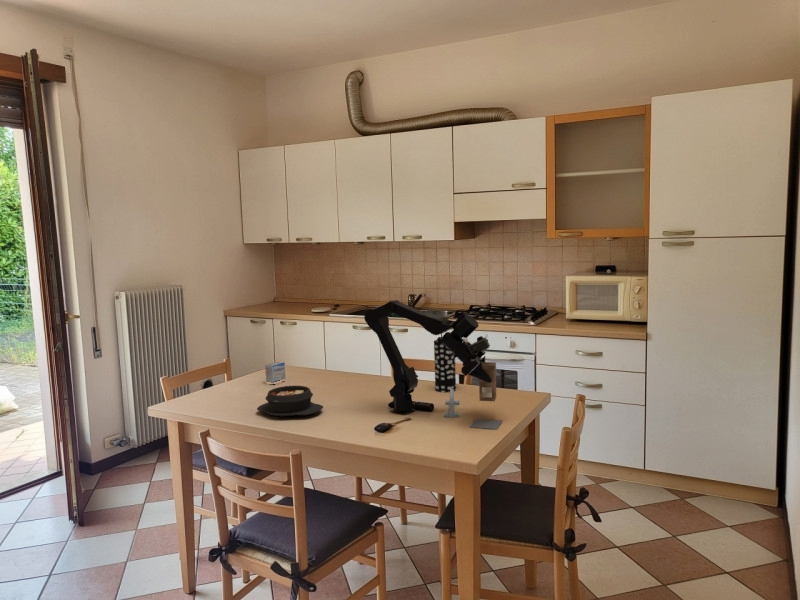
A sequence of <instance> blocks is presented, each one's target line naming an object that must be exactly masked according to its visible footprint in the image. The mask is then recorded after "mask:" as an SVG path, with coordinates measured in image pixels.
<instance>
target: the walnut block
mask: <svg viewBox="0 0 800 600" xmlns="http://www.w3.org/2000/svg"><path fill="white" fill-rule="evenodd" d="M482 368H483V369H484V370H485V372H486V373H487V374H488V376H489V377H490V378H491V380H492V381H491V382H490V383H489V382H486V381H484V380H481V379H479V378H478V382H479V383H478V387H479V388H478V389H479V391H478V392H479V393H478V394H479V397H478V398H479V401H481V402H495V401H496V399H497V362H491V361H490V362H488V361H485V362H482Z"/></svg>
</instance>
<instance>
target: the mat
mask: <svg viewBox="0 0 800 600" xmlns="http://www.w3.org/2000/svg"><path fill="white" fill-rule="evenodd" d="M502 421H503V420H502V419H501V420H500V419H487V418H475V419H474V420H473V422H472V423H471V424H470V425H469V428H472V429H481V428H483V430H493V429H497V430H499V428H500V426H501V425H500V424H502V423H503V422H502ZM498 427H499V428H498Z"/></svg>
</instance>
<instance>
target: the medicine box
mask: <svg viewBox="0 0 800 600" xmlns="http://www.w3.org/2000/svg"><path fill="white" fill-rule="evenodd" d="M264 368H265V383H266V382H271V383H274V382H277V381H280V380H283V379H286V380H287V378H286V365H285V361H284V362H283V361H277V362H273V363H268V364H266V365H265V366H264Z"/></svg>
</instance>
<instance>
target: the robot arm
mask: <svg viewBox="0 0 800 600" xmlns="http://www.w3.org/2000/svg"><path fill="white" fill-rule="evenodd" d="M393 314H394V315H397V316H400V317H402V318H404V319H406V320H409V321H411V322H413V323H417V324H418V325H420V326H422V328H423V329H424V330H426V331H427V332H428V333H430V334H431V335H434V336H438V337H436V340H437V346H438V347H439V346H440V345H441V344H442V343H443V344H444V345H445V346H446V347H447V348H448V349H449V350H450V351H451V352H452V353H453V354H454V357H455V359H456V358H457V359H458V360H459V361H460V362H461V363H462V365H461V366H462V367H461V369H460V370H461V374H462V375H464V376H465V377H466V376H471V377H473V378H476V379H478V380H479V379H481V380H484V381H486V382H489V383H490V382H491V381H492V380H491V378H490V377H489V376H488V374H487V373H486V372H485V370H484V369H483V368H482V362H486V350H488V349H489V348H490V346H491V345H490V343H489V339H487V337H484V336H482V335H480V336H478V337H477V338H476V341H475V342H473V343H471V342H470V341H467V342H466V340H464V339H467V338H469V336H471V334H473V333H474V332H475V331H476V329H478V328H479V323H478V321H477V320H476V318H474V317H473V316H471V315H469V314H467V313H466V312H462V313H461V314H460V315H459V317H458V318H457V319H456V320H455V321H454V320H451V319H449V318H448V317H446V316H444V315H439V314H434V313H427V312H424V311H422V310H420V309H417V308H415V307H413V306H410V305H408V304H406V303H403V302H401V301H399V300H397V299H395V300H389V301H388V302H386V303H385V304H383V305H380V306H378V307H373V308H369V309H367V310H366V311H365V313H364V316H363V317H364V322H365V323H366V325H367V326H368V327H369V329H370V330H372V331H373V332H374V333H375V334H376V336H377V338H378V340H379V342H380V345H381V347H382V349H383V350H384V352H385V355H386V357H387V360H388V362H389V364H390V366H391V368H392V371H393V373H392V375H393V376H392V377H393V383H394V385H393V387H392V388H391V389H390V390H389V395H390V397H392V398H393V399H392V400H393V409H391V410H390V412H392V413H394V414H399V415H406V414H409V413H412V412H415V411H416V409H415V408H413V398H412V393H414V392H415V389H416V387H417V386H418V383H419V379H418V378H419V375H418V374H417V373H416V371H415V368H414V366H411V367H409V366H408V365H407V364H406V362H405V360H404V358H403V356H402V354H401V352H400V349H399V347H398V345H397V343H396V340H395V338H394V336H393V334H392V332H391V330H390V319H389V317H390V316H392V315H393ZM449 330H451V332H450V331H449ZM448 331H449V332H448ZM442 334H443V335H442ZM439 335H442V336H439ZM463 338H464V339H463Z"/></svg>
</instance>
